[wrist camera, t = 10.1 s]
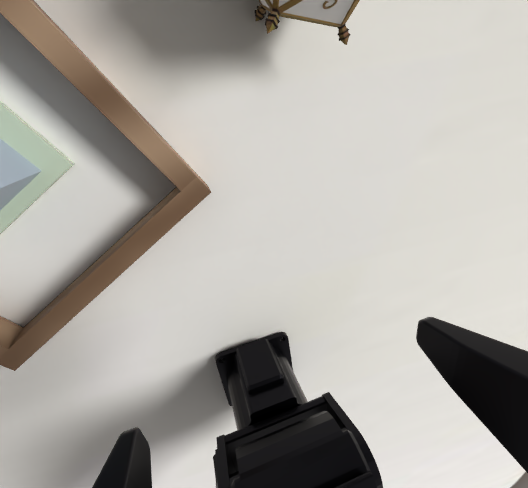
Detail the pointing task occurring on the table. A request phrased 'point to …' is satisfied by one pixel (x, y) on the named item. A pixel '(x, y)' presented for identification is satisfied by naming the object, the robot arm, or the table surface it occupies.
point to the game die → (308, 13)
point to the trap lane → (143, 137)
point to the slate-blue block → (13, 173)
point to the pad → (38, 153)
